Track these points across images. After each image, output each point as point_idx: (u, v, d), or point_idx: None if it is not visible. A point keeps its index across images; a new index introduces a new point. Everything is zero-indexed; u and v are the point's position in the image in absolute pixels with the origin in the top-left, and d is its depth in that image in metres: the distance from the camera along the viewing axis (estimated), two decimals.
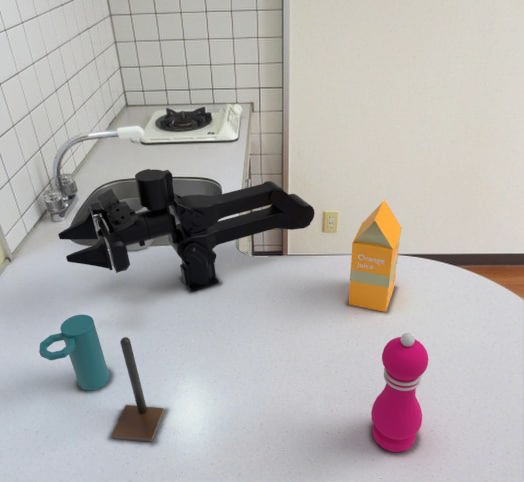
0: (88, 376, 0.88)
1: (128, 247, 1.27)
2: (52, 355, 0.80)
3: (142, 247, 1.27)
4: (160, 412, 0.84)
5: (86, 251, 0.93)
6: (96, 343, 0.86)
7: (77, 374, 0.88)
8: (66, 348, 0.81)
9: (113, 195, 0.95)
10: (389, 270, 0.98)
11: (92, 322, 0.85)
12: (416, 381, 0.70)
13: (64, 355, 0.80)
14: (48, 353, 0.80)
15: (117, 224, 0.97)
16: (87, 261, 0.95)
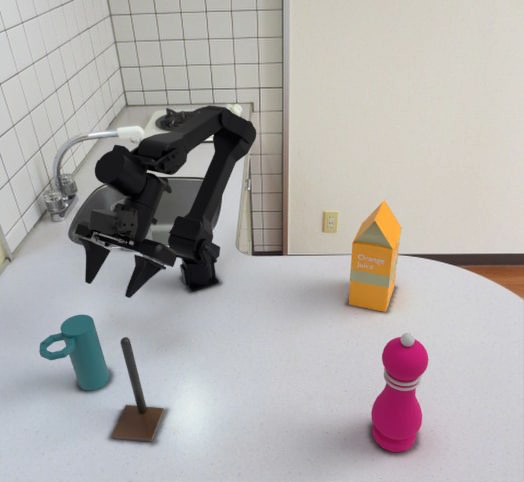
0: (88, 376, 0.88)
1: None
2: (52, 355, 0.80)
3: None
4: (160, 412, 0.84)
5: (136, 277, 0.87)
6: (96, 343, 0.86)
7: (77, 374, 0.88)
8: (66, 348, 0.81)
9: (105, 216, 0.83)
10: (389, 270, 0.98)
11: (92, 322, 0.85)
12: (416, 381, 0.70)
13: (64, 355, 0.80)
14: (48, 353, 0.80)
15: (129, 231, 0.87)
16: (143, 282, 0.89)
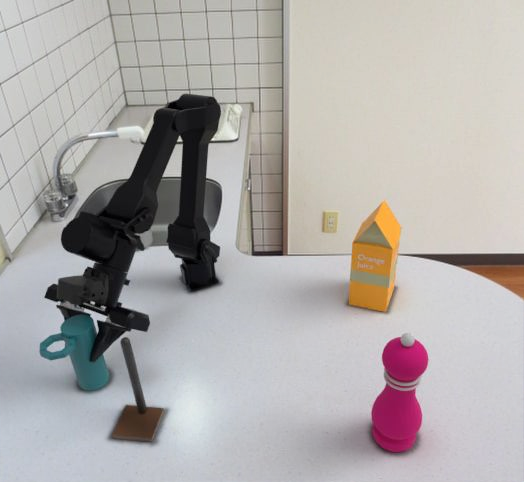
0: (88, 376, 0.88)
1: None
2: (52, 355, 0.80)
3: None
4: (160, 412, 0.84)
5: (100, 342, 0.85)
6: None
7: (77, 374, 0.88)
8: (66, 348, 0.81)
9: (73, 286, 0.80)
10: (389, 270, 0.98)
11: (92, 322, 0.85)
12: (416, 381, 0.70)
13: (64, 355, 0.80)
14: (48, 353, 0.80)
15: None
16: (107, 345, 0.87)
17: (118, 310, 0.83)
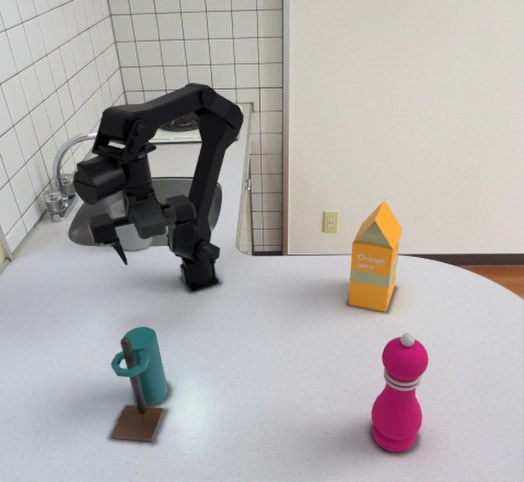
0: (154, 389, 0.84)
1: (128, 247, 1.27)
2: (133, 371, 0.76)
3: (142, 247, 1.27)
4: (160, 412, 0.84)
5: (178, 236, 0.99)
6: (159, 352, 0.83)
7: None
8: (143, 361, 0.78)
9: (161, 223, 0.88)
10: (389, 270, 0.98)
11: (154, 332, 0.82)
12: (416, 381, 0.70)
13: (144, 368, 0.77)
14: (127, 370, 0.76)
15: None
16: None
17: (181, 210, 0.94)
